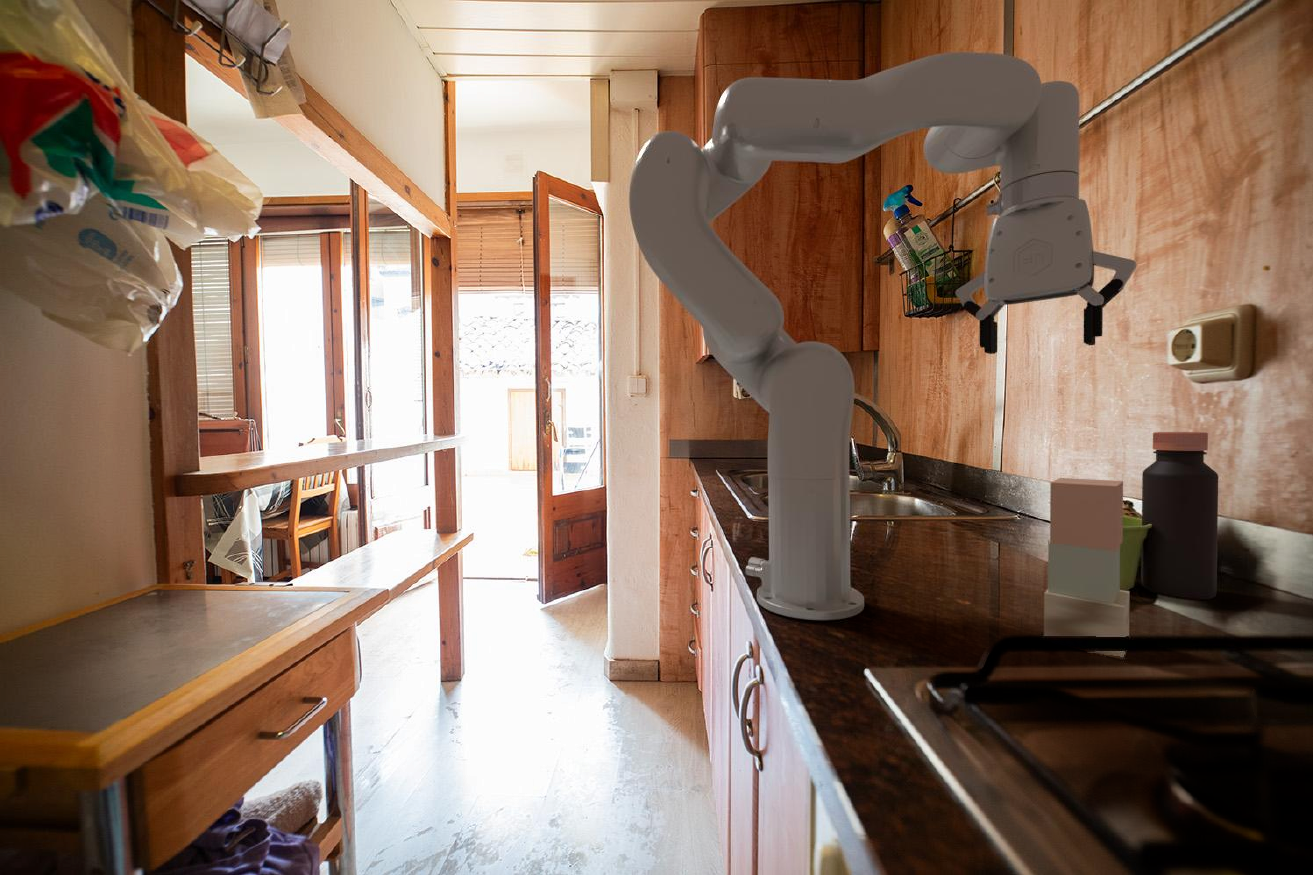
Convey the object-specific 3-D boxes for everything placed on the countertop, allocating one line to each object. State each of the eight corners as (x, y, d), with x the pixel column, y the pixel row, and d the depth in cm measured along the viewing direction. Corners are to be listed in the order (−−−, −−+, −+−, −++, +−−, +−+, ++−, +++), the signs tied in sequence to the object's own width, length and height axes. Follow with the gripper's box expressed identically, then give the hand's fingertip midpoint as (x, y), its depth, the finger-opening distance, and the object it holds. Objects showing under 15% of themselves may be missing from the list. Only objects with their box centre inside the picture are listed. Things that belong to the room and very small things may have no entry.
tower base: (1043, 643, 54) (1044, 593, 53) (1054, 625, 58) (1055, 579, 58) (1123, 661, 49) (1124, 607, 49) (1128, 641, 54) (1129, 591, 53)
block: (1050, 542, 53) (1050, 482, 53) (1060, 534, 57) (1060, 477, 57) (1116, 550, 50) (1116, 486, 50) (1122, 541, 53) (1123, 481, 53)
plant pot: (1171, 597, 66) (1172, 526, 65) (1083, 594, 67) (1083, 525, 67) (1121, 575, 75) (1122, 513, 74) (1045, 573, 77) (1045, 512, 76)
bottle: (1183, 584, 71) (1185, 431, 70) (1233, 601, 64) (1236, 432, 63) (1127, 583, 71) (1129, 432, 71) (1171, 600, 65) (1173, 433, 64)
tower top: (1048, 592, 54) (1048, 542, 53) (1057, 581, 57) (1057, 534, 57) (1113, 604, 50) (1114, 550, 50) (1119, 591, 54) (1120, 541, 53)
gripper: (947, 214, 66) (947, 353, 67) (1134, 166, 54) (1132, 337, 55) (965, 228, 72) (965, 357, 72) (1139, 187, 60) (1137, 343, 60)
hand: (1037, 348), depth 64 cm, fingers open, 9 cm apart
